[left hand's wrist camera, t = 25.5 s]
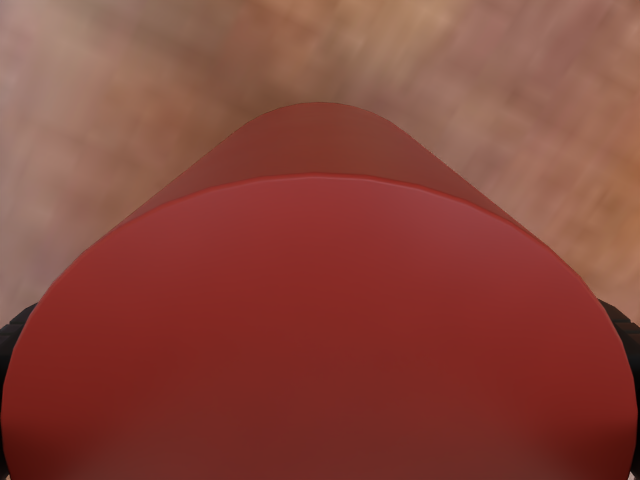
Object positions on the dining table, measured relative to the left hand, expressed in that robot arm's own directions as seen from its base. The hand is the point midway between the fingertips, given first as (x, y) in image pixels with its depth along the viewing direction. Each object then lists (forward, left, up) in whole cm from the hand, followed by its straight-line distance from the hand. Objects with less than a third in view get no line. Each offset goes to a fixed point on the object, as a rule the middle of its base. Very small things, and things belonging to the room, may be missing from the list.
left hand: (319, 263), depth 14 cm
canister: (0, 0, -2) cm, 2 cm away
